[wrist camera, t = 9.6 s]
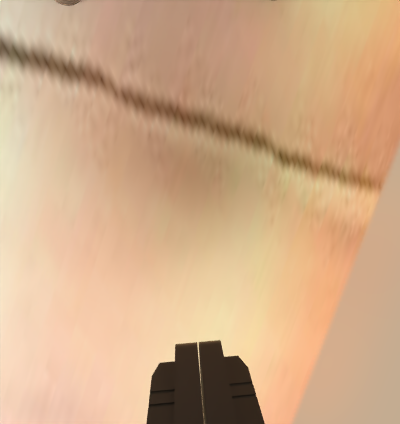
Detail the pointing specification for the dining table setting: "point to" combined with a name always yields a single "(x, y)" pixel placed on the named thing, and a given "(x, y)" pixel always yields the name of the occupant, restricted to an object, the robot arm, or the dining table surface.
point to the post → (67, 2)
